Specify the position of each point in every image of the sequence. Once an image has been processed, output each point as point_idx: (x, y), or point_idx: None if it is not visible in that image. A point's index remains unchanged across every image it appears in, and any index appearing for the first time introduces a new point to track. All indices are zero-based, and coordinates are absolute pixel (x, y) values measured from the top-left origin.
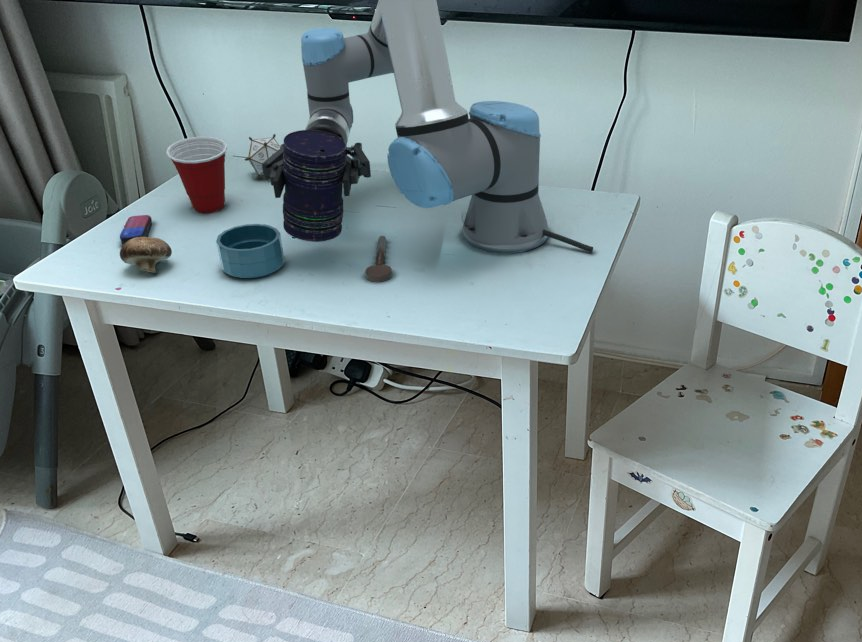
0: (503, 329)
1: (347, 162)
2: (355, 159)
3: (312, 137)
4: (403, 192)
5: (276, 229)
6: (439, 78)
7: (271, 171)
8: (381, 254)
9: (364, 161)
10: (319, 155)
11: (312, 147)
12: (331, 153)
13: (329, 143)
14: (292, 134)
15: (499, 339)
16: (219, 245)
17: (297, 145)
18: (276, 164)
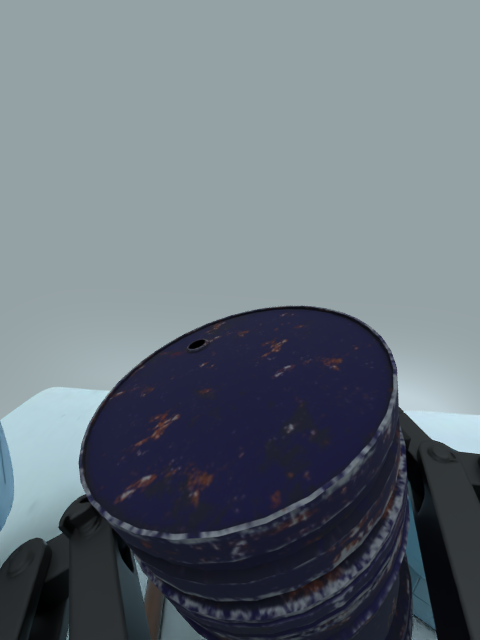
0: (71, 408)
1: (116, 555)
2: (75, 508)
3: (258, 403)
4: (9, 495)
5: (413, 565)
6: None
7: (419, 428)
8: (147, 598)
9: (28, 554)
10: (206, 330)
11: (234, 345)
12: (171, 351)
13: (168, 397)
14: (380, 371)
15: (85, 395)
16: (454, 450)
17: (288, 329)
18: (434, 448)
